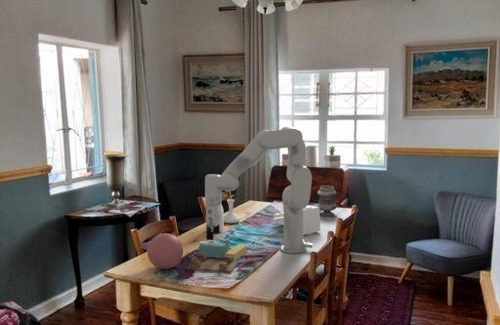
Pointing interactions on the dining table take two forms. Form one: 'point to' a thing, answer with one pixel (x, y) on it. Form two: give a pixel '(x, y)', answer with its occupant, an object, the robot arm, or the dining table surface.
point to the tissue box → (305, 219)
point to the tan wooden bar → (237, 251)
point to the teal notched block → (214, 248)
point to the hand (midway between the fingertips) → (213, 236)
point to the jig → (212, 264)
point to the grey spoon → (230, 211)
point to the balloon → (164, 250)
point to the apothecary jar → (326, 200)
